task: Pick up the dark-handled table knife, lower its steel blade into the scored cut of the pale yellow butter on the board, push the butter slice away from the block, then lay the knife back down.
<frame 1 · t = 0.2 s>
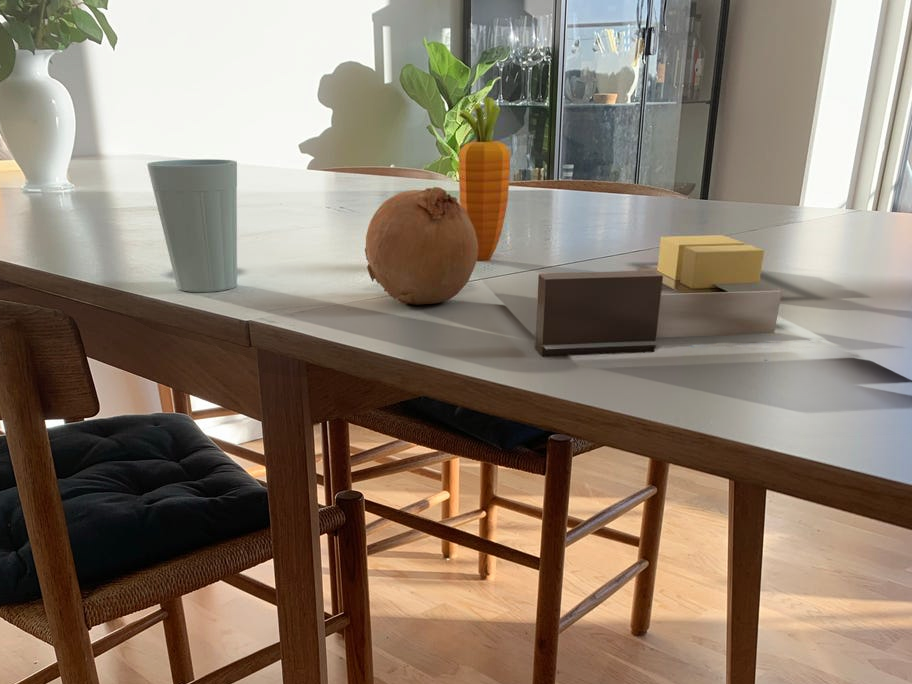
knife: (594, 350, 66), on the table
butter block: (697, 274, 87), point 1 cm above the table, touching butter board
carrot: (482, 269, 96), on the table
butter board: (716, 294, 83), on the table
butter slice: (718, 284, 82), point 1 cm above the table, touching butter board
onion: (422, 303, 81), on the table
cup: (207, 289, 88), on the table
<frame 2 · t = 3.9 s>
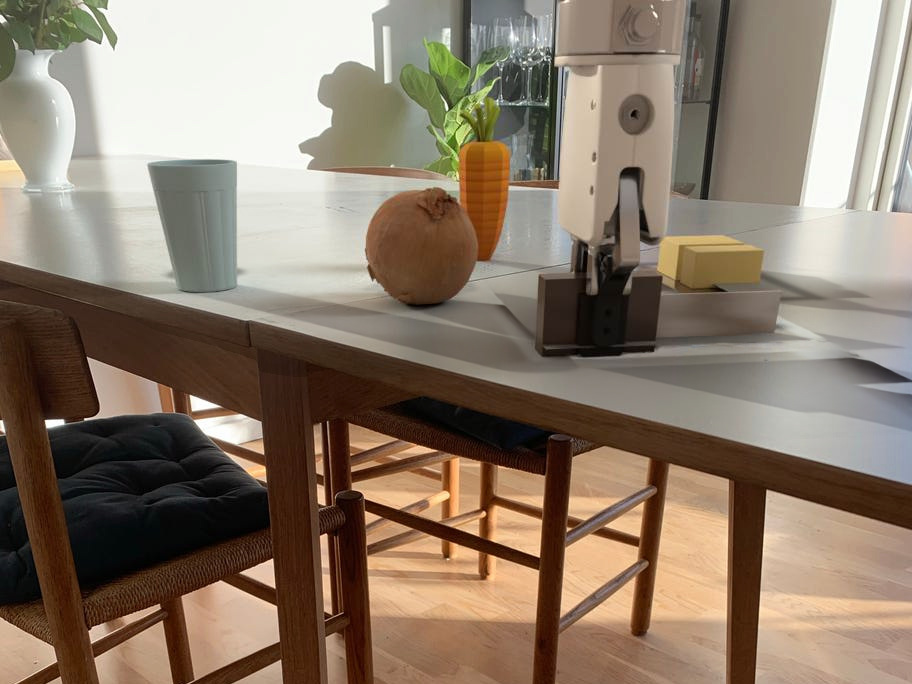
hand: (594, 347, 66), 0 cm above the table, tool pointing down, fingers closed on knife, 2 cm apart
knife: (594, 350, 66), on the table, touching gripper
everything else where it was.
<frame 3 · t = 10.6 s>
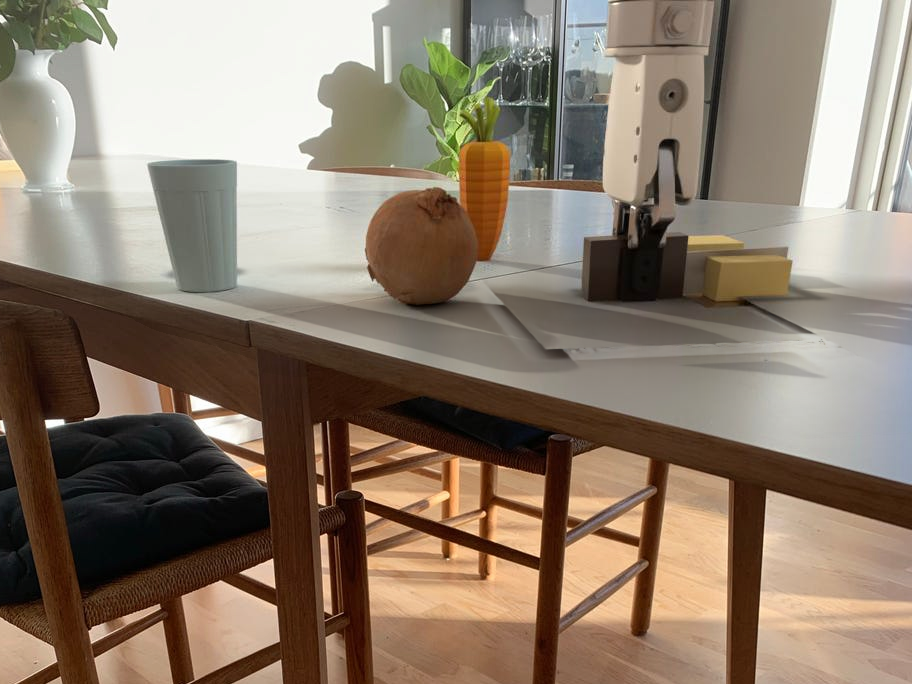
hand: (632, 295, 78), 1 cm above the table, tool pointing down, fingers closed on knife, 2 cm apart
knife: (631, 301, 78), on the table, touching butter slice, gripper
butter slice: (743, 297, 78), point 1 cm above the table, touching butter board, knife
everything else where it was.
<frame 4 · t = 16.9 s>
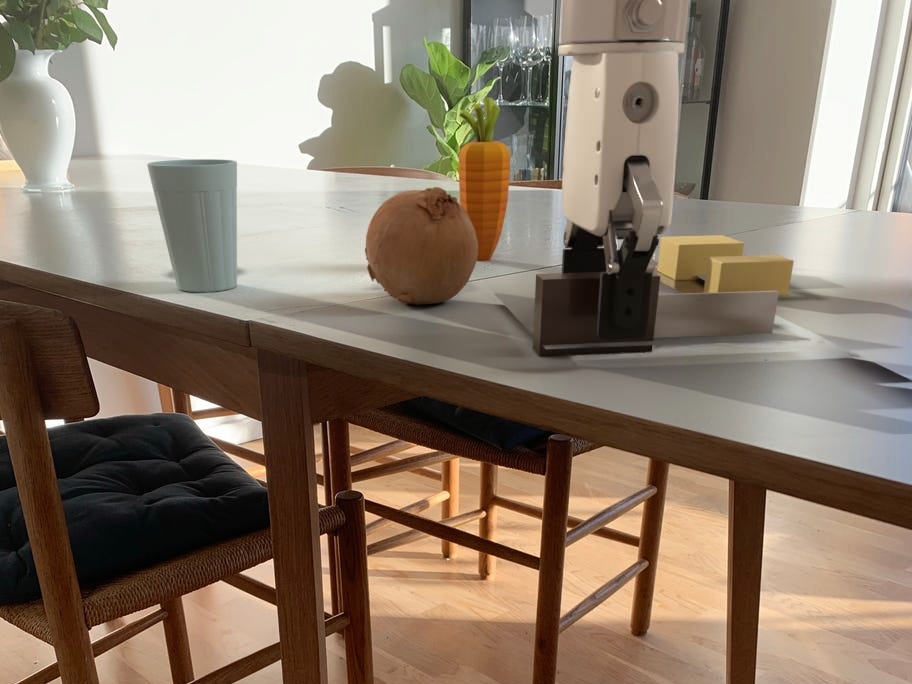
hand: (600, 321, 65), 2 cm above the table, tool pointing down, fingers open, 9 cm apart
knife: (591, 350, 66), on the table
butter slice: (744, 297, 78), point 1 cm above the table, touching butter board
everything else where it was.
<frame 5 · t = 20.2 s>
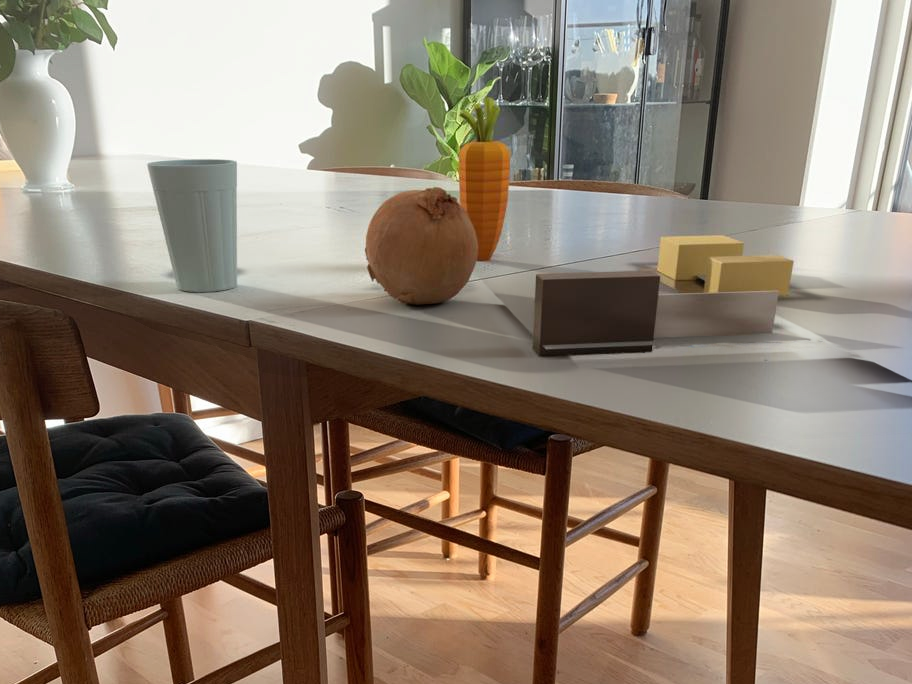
nothing on the table moved.
at the end: butter slice 0.9 cm from the target spot on the table beside the butter block, resting on butter board; the gripper is holding nothing; knife on the table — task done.
